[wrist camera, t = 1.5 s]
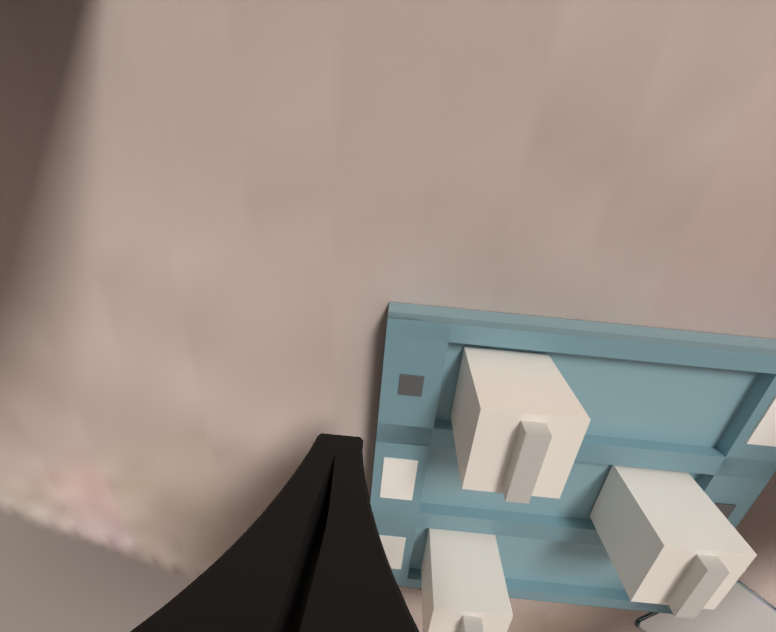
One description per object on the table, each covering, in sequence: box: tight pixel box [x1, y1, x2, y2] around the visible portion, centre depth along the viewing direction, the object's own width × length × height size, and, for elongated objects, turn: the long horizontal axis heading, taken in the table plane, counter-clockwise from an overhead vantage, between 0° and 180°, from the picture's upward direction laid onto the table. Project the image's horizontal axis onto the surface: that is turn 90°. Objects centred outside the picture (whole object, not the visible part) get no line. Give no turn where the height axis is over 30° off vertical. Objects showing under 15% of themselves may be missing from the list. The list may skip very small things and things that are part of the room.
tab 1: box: [421, 528, 513, 632], centre depth 19 cm, size 4×4×5 cm
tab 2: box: [451, 347, 591, 504], centre depth 14 cm, size 4×4×5 cm
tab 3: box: [589, 465, 757, 619], centre depth 17 cm, size 4×4×5 cm
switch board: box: [370, 302, 776, 614], centre depth 19 cm, size 18×17×2 cm
